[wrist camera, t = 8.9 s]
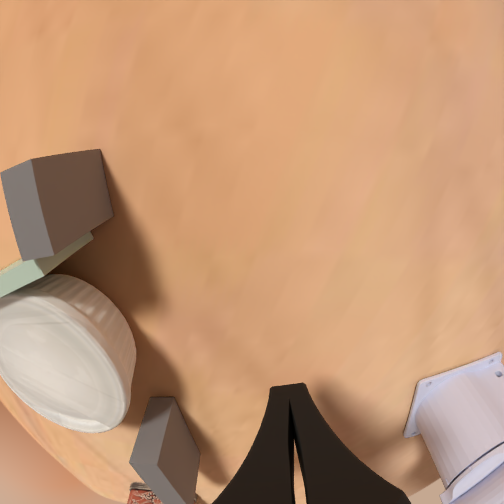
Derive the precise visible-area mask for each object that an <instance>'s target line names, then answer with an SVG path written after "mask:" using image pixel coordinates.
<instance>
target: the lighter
mask: <svg viewBox="0 0 504 504" xmlns="http://www.w3.org/2000/svg"><path fill="white" fill-rule="evenodd" d="M129 490H130V495H129V499H128V503H127V504H163V503H162V502H161V500H160V499H159V498H158V497H157V496H156V495H155V494H154V493H153V491H152V490H151V489H150V488H149V487H148V486H147V484H146V483H137V482H133V483H131V486H130V489H129ZM196 501H197V494H196V493H195V499H194V504H195V503H196Z"/></svg>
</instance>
